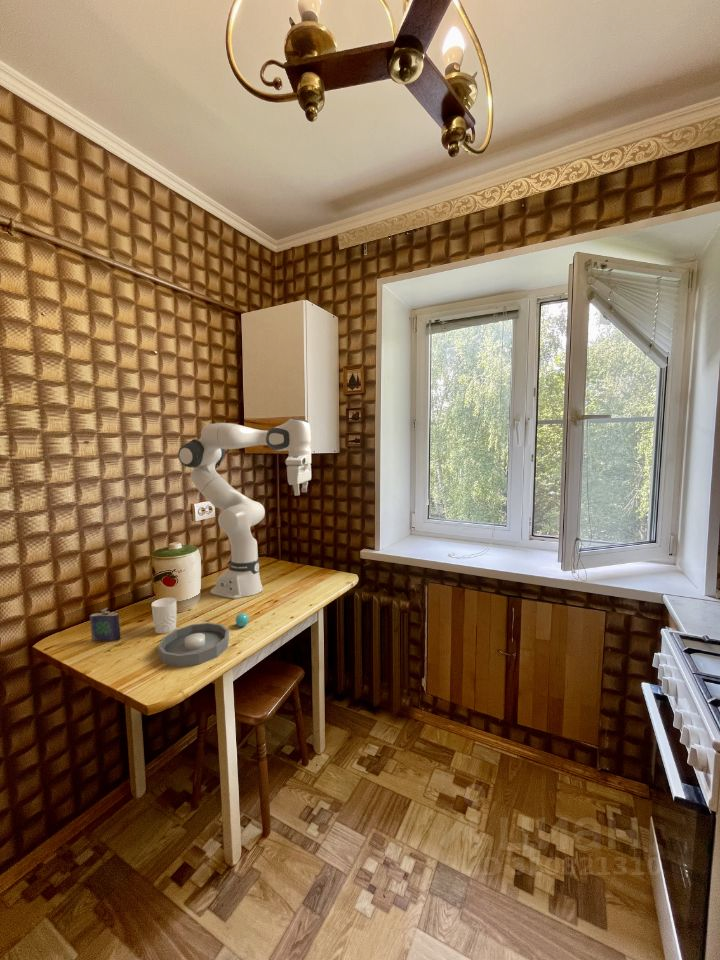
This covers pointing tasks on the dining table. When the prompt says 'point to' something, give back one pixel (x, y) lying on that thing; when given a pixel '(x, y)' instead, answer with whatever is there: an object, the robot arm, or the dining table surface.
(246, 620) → the bead
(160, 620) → the white cup
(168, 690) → the dining table surface
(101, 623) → the flask
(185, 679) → the dining table surface
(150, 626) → the dining table surface
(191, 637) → the ring tray
